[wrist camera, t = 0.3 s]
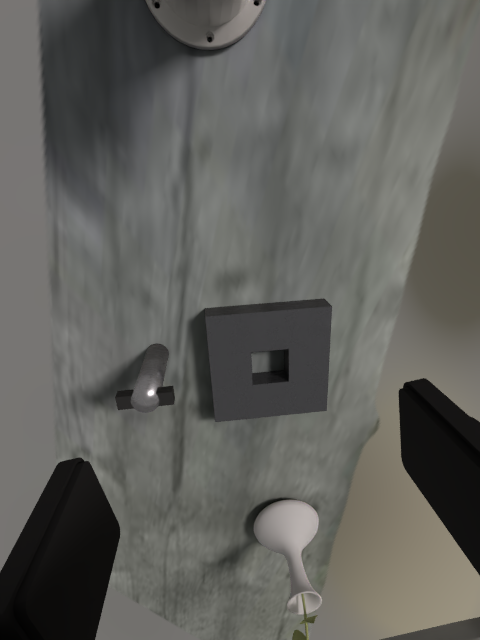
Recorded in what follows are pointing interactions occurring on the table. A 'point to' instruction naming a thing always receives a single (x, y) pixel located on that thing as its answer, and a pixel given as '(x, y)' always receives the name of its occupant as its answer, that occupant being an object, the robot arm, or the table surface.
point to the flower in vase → (291, 550)
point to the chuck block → (266, 335)
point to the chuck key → (149, 383)
